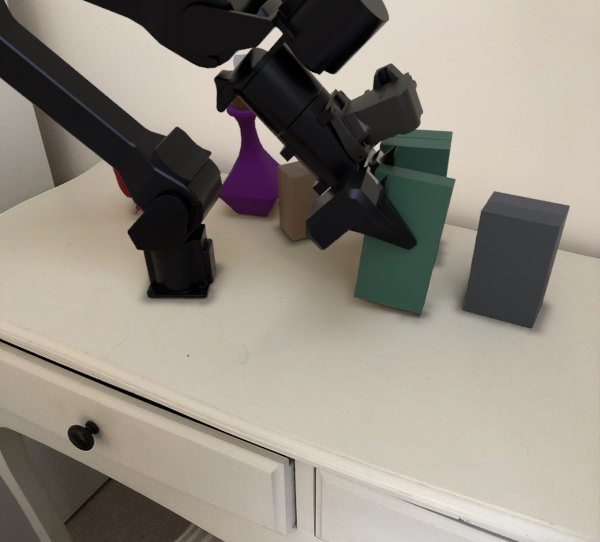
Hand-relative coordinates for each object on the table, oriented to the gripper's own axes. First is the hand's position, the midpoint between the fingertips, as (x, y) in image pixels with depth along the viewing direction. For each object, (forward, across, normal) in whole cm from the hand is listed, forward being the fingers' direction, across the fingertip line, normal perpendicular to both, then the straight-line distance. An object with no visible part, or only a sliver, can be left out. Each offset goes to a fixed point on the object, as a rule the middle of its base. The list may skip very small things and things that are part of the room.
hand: (414, 239), depth 61 cm
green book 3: (+5, +12, +6) cm, 15 cm away
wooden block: (-4, +13, +16) cm, 21 cm away
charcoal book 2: (+12, +3, -2) cm, 13 cm away
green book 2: (+4, -1, +6) cm, 7 cm away
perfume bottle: (-9, +18, +21) cm, 29 cm away
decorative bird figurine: (-20, +18, +32) cm, 42 cm away
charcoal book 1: (+12, 0, -1) cm, 12 cm away
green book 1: (+5, +10, +6) cm, 13 cm away
